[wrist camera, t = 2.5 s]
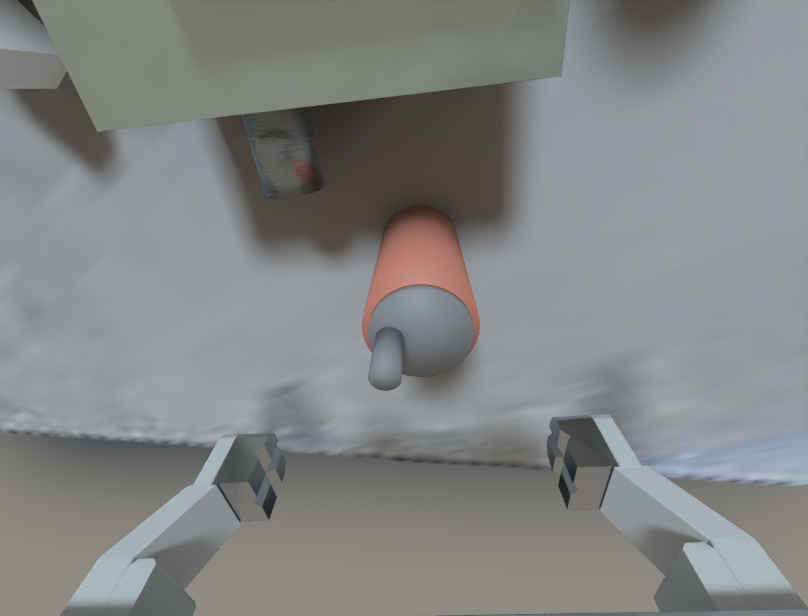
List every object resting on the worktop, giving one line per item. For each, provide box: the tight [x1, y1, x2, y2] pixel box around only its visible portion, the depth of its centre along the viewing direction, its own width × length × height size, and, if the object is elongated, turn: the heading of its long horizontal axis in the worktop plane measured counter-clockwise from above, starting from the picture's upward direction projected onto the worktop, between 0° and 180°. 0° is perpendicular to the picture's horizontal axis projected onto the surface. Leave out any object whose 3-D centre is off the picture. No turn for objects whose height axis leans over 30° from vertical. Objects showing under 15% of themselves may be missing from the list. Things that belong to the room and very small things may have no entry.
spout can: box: [362, 206, 480, 391], centre depth 18 cm, size 5×5×13 cm
